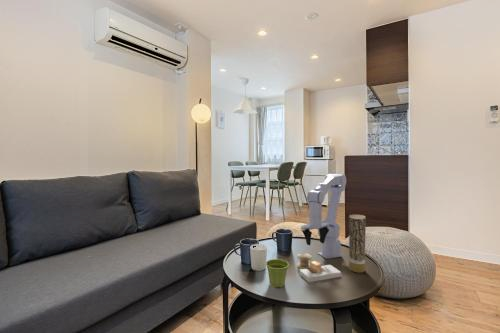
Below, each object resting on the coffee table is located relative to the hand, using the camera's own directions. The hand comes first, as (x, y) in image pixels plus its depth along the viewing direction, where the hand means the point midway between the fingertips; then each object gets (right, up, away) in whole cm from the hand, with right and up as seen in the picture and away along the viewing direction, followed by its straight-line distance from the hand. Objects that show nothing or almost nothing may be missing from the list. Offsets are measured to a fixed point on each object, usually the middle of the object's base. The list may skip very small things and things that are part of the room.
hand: (315, 243), depth 124 cm
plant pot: (-20, -12, -18) cm, 29 cm away
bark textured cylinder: (+18, -11, -5) cm, 21 cm away
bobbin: (-6, -11, -1) cm, 12 cm away
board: (-1, -11, -10) cm, 15 cm away
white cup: (-27, -11, -2) cm, 30 cm away
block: (-2, -11, -9) cm, 14 cm away
